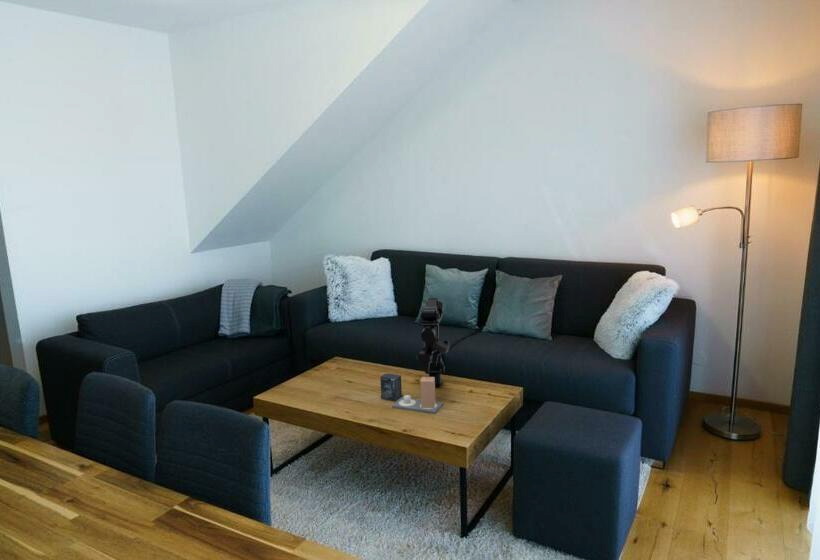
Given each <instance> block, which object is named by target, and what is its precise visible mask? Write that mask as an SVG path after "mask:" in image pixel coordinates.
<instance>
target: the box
mask: <svg viewBox="0 0 820 560" xmlns="http://www.w3.org/2000/svg"><path fill="white" fill-rule="evenodd" d="M379 379H380V398H381V399H384V400H388V401H389V400H390V401H393V402H397V401H398V400H399V399H400V398H401V397H403V396H402V393H403V392H402V375H399V374H394V373H388V372H386V373H384V374H382V375H381V376H380V378H379Z"/></svg>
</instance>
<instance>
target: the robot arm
mask: <svg viewBox="0 0 820 560" xmlns="http://www.w3.org/2000/svg"><path fill="white" fill-rule="evenodd" d="M443 314H444V303H443V302H442V301H440V300H439V298H438V297H429V298H427V302H425V307H423V308H422V309H421V310H420V318H419V319H420V321H419V327H420V326H421V327H423V329H422V331H421V335H420V338H421V341H422V342H423V347H422V350H421V351H420V352H418V353H417V354H416V360H417V361H419V362H420V364H421V365H422V368H423V370H424V372H425V373H424V374H425V375H426V374H428V377H435V388H440V387H441V386H442V385H443V384H444V381H442V378H441V377H442V375H443V374H444V373H446V371H445V370H446V369H445V368H446V367H445V364H444V361H443V359H442V357H441V355H446V354H447V353H448V352H449V350H450V348H451V345H450V340H449V339H445V340H444V341H443V340H442V341H440V338H439V337H440V332H439V330H440V326H439V325H440V322H441V320H442V319H443ZM440 354H441V355H440Z"/></svg>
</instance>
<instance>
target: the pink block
mask: <svg viewBox="0 0 820 560" xmlns="http://www.w3.org/2000/svg"><path fill="white" fill-rule="evenodd" d="M419 386H420V400H421V408H434V407H435V402H436V387H435V377H429V376H421V378H420V385H419Z"/></svg>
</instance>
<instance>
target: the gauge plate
mask: <svg viewBox="0 0 820 560" xmlns="http://www.w3.org/2000/svg"><path fill="white" fill-rule="evenodd" d="M411 397H412V396H411V395H410V394H405V395H403V396H402V397H401V398H400V399H398V400H397V401H395V402H394V403H393V404H392V405H391V407H392V409H399V410H405V411H406V410H407V411H412V412H419V413H427V414H433V415H436V414H437V413H438V412H439V410H441V408H442V407H443V406H444V402H442V401H441V402H440V401H435V407H434V408H421V398H419V399H417V398H411Z"/></svg>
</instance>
